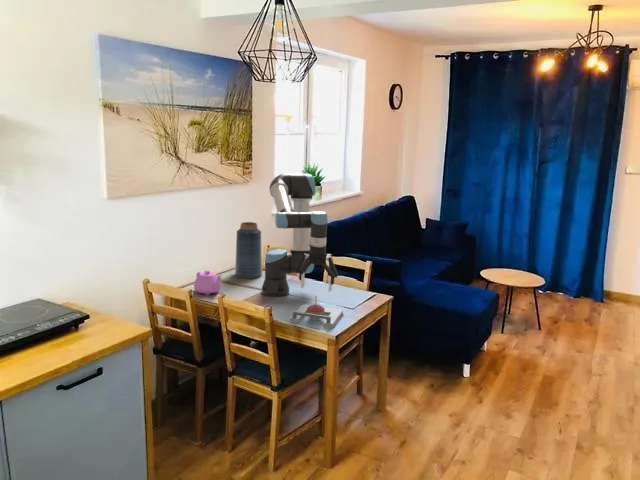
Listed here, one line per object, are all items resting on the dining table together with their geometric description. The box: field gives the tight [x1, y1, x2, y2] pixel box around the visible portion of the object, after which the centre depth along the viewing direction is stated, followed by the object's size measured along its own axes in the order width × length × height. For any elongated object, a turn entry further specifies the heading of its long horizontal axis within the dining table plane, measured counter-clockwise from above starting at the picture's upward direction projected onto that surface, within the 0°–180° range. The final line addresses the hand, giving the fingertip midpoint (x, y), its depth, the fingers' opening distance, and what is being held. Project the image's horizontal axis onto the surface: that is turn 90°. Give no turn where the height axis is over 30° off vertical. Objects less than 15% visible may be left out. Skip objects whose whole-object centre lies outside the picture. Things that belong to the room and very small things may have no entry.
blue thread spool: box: [234, 221, 263, 279], centre depth 314 cm, size 16×16×32 cm
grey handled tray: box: [288, 304, 344, 329], centre depth 251 cm, size 21×20×5 cm
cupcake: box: [307, 295, 325, 322], centre depth 248 cm, size 9×8×12 cm
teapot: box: [193, 269, 223, 296], centre depth 281 cm, size 20×14×12 cm
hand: (316, 288), depth 247 cm, fingers open, 13 cm apart
